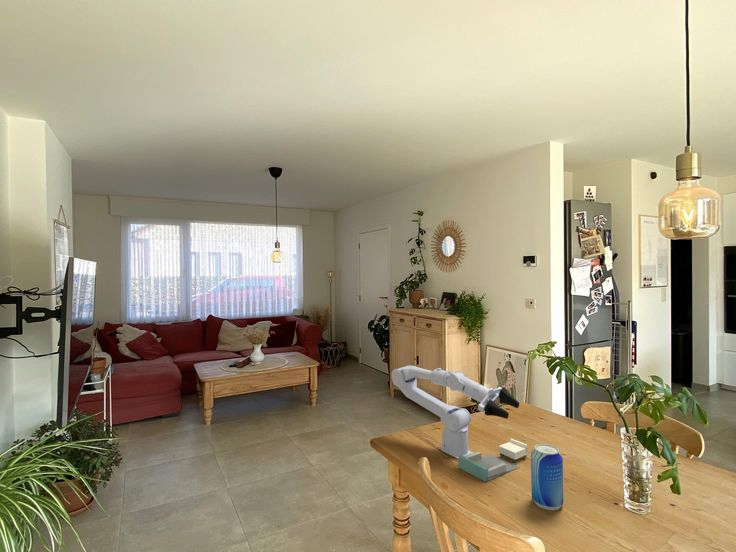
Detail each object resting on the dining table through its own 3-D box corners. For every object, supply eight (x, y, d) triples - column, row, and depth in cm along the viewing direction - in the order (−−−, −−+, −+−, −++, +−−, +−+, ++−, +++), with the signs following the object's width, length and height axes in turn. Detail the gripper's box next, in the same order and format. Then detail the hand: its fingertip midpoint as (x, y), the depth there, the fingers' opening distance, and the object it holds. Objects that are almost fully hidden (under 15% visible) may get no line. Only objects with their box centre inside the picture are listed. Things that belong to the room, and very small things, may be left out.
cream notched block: (498, 456, 146) (498, 442, 146) (511, 451, 150) (511, 438, 150) (515, 463, 140) (514, 449, 140) (527, 458, 144) (527, 444, 144)
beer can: (545, 514, 111) (544, 456, 111) (525, 498, 119) (524, 444, 119) (570, 509, 113) (569, 452, 113) (549, 493, 121) (548, 441, 121)
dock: (458, 469, 138) (458, 455, 138) (492, 455, 148) (492, 443, 148) (486, 484, 128) (486, 469, 128) (520, 468, 138) (520, 455, 138)
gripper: (468, 391, 137) (504, 411, 128) (489, 374, 147) (525, 391, 138) (465, 408, 140) (501, 428, 131) (487, 390, 149) (521, 408, 141)
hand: (513, 410), depth 135 cm, fingers open, 7 cm apart
